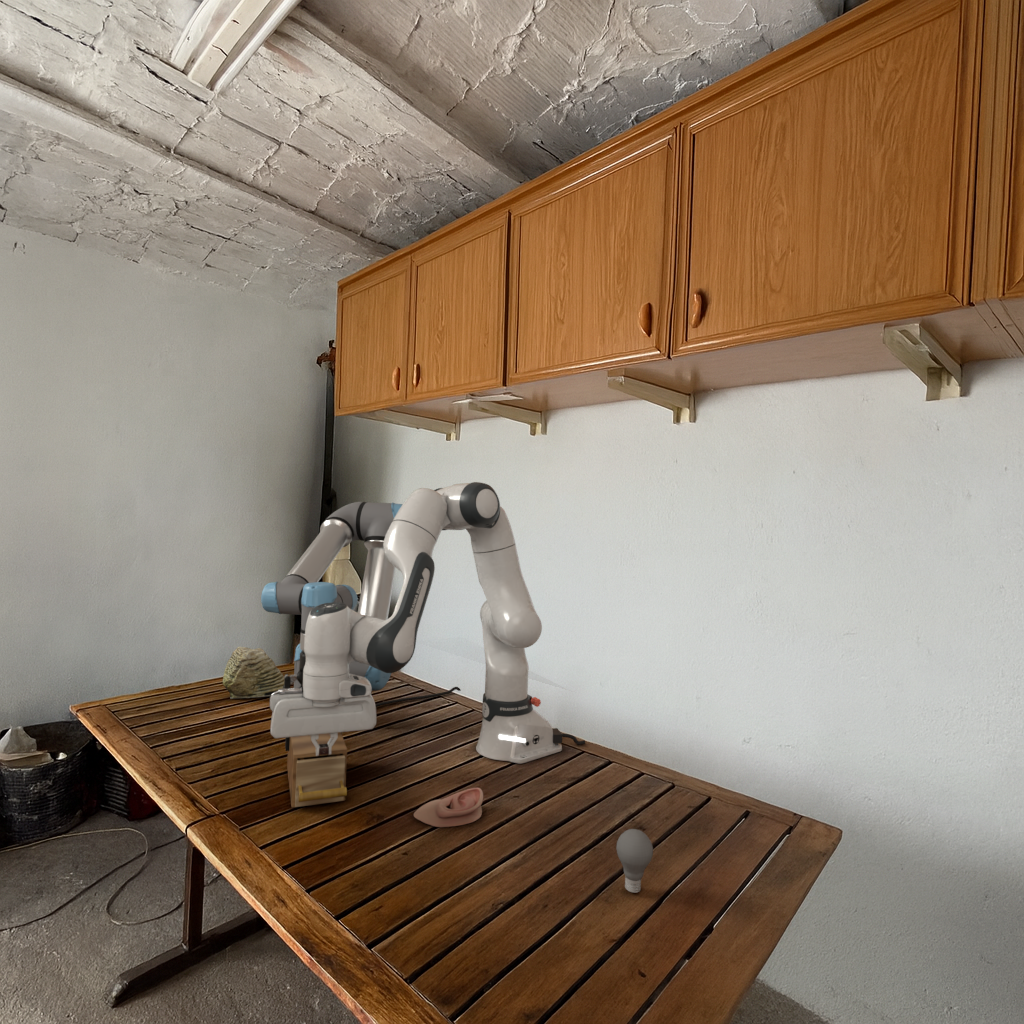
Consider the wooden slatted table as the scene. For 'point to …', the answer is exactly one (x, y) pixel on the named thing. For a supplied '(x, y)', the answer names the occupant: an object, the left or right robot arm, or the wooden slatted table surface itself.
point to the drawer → (320, 780)
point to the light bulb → (634, 857)
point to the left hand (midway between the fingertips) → (313, 746)
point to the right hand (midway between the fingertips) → (323, 754)
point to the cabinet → (310, 755)
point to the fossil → (251, 674)
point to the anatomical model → (452, 809)
